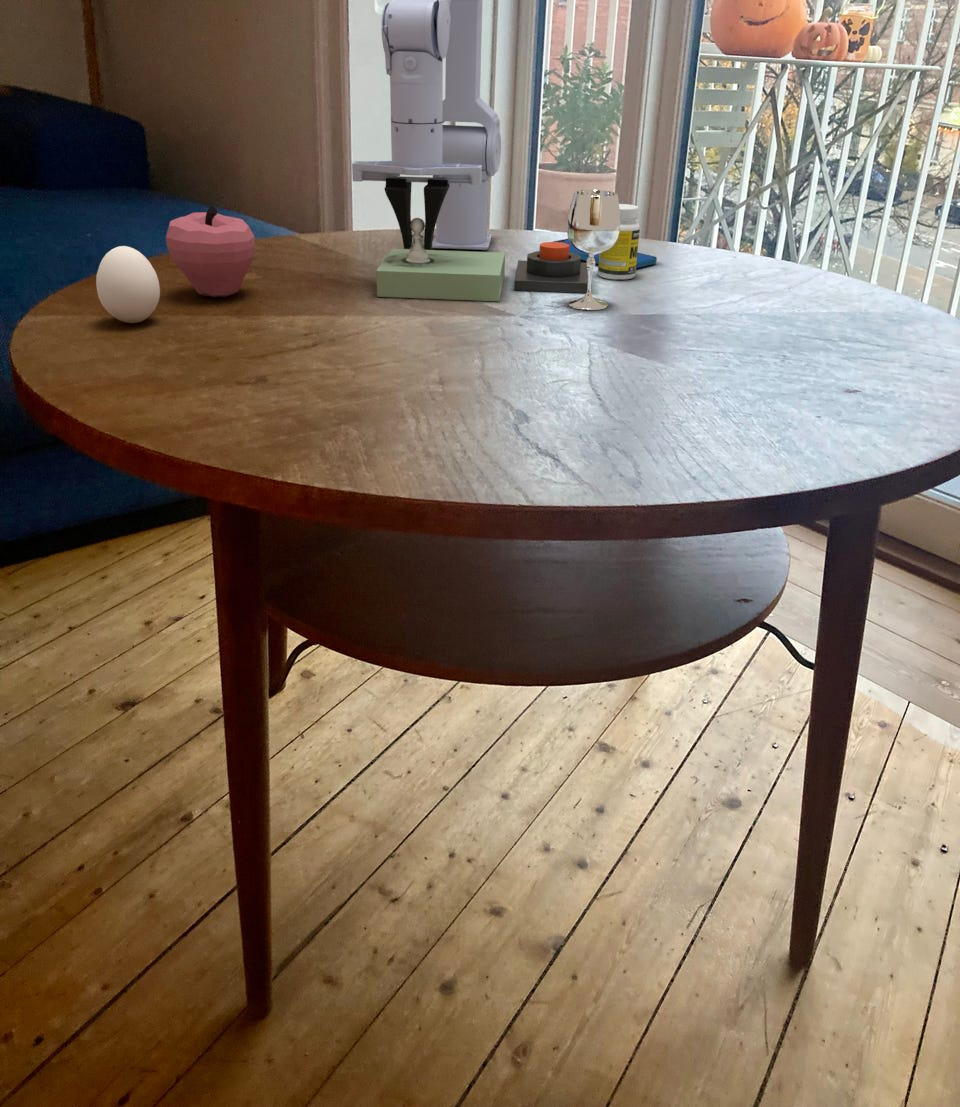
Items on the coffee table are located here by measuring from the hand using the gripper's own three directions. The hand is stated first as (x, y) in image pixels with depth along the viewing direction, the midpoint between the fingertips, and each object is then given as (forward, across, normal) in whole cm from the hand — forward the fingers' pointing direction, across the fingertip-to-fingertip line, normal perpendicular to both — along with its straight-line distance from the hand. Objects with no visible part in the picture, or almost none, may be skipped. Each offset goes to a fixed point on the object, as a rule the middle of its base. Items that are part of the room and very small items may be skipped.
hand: (417, 247), depth 116 cm
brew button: (+2, +16, +5) cm, 17 cm away
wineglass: (+5, +20, -6) cm, 21 cm away
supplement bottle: (+5, +24, +9) cm, 26 cm away
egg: (+5, -27, -20) cm, 34 cm away
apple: (+5, -22, -8) cm, 24 cm away
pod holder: (+4, +3, 0) cm, 5 cm away
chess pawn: (+2, 0, 0) cm, 2 cm away
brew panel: (+4, +16, +5) cm, 17 cm away
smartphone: (+4, +22, +19) cm, 29 cm away
